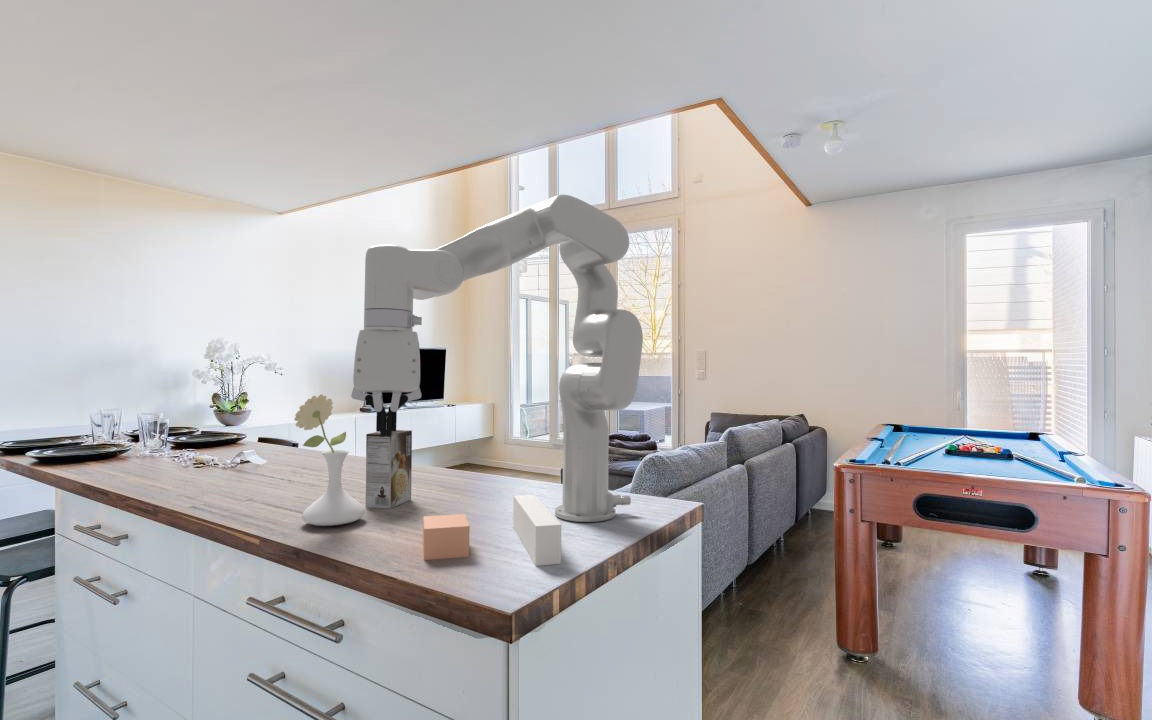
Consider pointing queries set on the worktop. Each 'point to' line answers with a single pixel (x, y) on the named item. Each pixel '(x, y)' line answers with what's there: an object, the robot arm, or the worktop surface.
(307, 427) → the flower in vase
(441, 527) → the peach block
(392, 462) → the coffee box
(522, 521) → the board
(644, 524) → the worktop surface
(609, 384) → the robot arm
